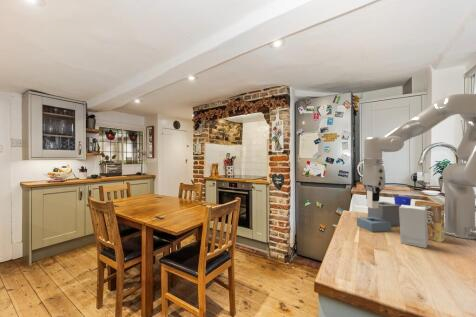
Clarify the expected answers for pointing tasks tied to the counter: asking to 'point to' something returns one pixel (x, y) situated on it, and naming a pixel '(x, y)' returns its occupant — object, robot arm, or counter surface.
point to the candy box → (434, 219)
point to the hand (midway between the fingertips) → (372, 199)
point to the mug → (402, 200)
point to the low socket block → (373, 224)
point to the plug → (371, 198)
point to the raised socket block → (386, 212)
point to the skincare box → (413, 225)
